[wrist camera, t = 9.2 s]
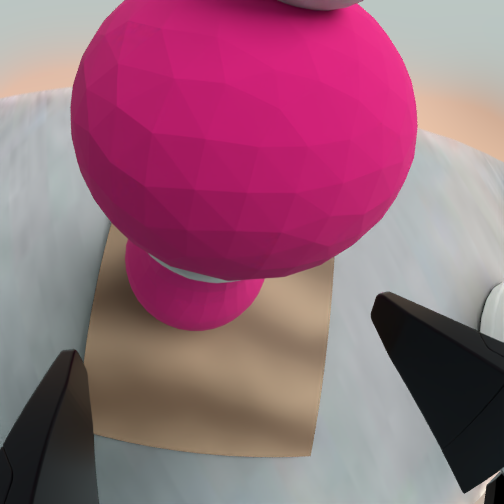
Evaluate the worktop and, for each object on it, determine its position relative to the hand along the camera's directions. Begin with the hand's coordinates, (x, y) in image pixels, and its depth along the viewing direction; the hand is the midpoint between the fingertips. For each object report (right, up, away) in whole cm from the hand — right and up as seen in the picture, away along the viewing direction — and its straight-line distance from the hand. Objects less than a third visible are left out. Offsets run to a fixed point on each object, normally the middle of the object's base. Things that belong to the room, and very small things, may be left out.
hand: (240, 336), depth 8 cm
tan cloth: (-2, -2, +12) cm, 13 cm away
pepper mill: (-4, +1, +12) cm, 13 cm away
